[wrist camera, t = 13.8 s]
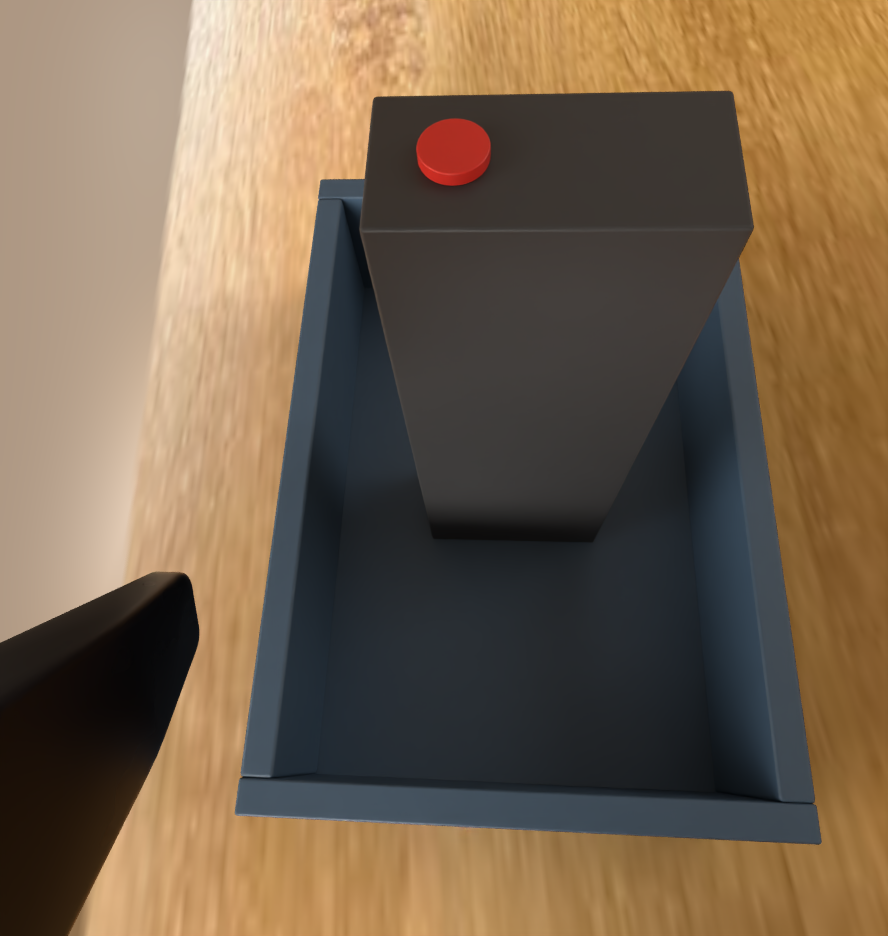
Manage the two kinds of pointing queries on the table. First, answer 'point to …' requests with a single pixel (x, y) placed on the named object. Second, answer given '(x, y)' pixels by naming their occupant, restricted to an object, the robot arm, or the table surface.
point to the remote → (544, 288)
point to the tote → (522, 614)
